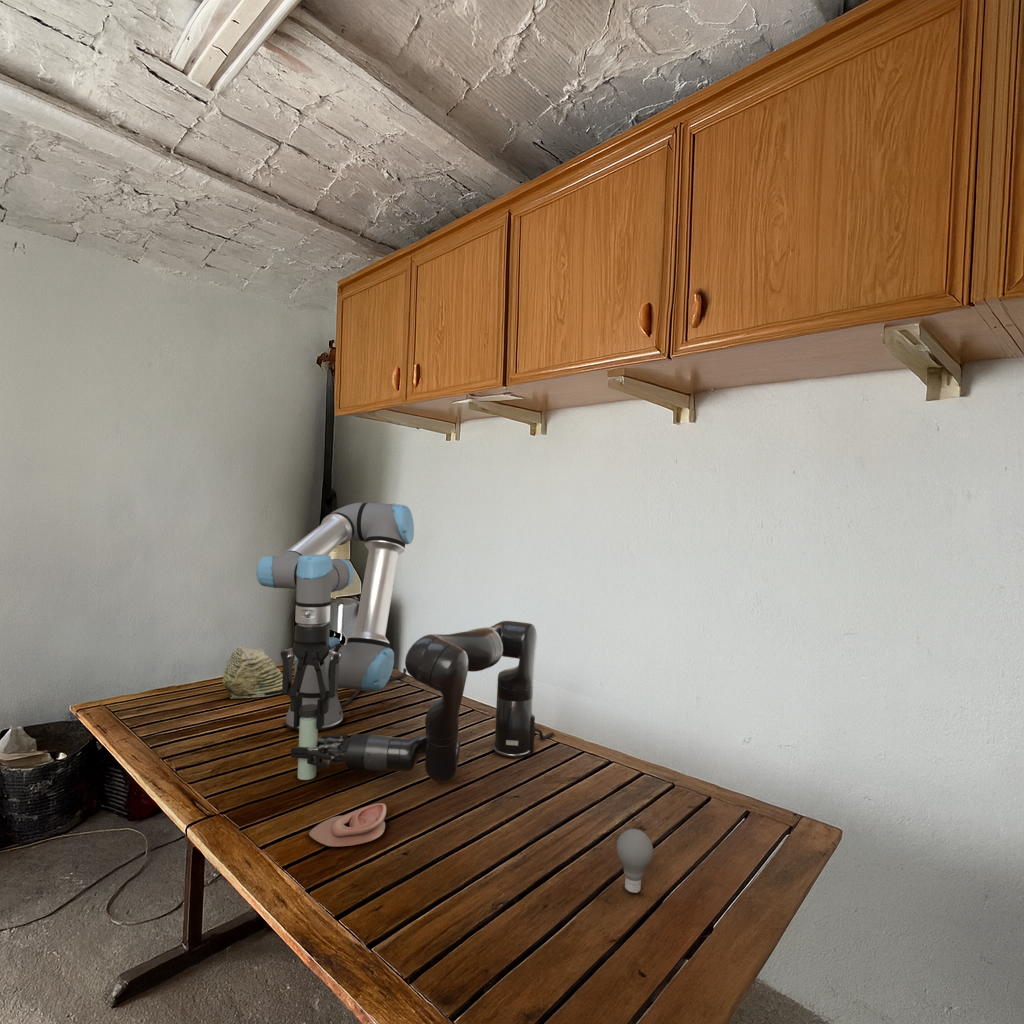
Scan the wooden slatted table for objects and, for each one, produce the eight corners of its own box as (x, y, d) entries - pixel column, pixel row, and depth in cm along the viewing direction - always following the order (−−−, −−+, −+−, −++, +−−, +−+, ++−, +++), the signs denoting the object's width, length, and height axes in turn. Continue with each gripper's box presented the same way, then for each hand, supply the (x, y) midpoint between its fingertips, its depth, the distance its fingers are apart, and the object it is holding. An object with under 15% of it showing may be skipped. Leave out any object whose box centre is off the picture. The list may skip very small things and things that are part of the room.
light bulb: (610, 879, 108) (613, 822, 108) (644, 879, 109) (647, 822, 109) (619, 902, 102) (622, 840, 102) (655, 901, 103) (658, 840, 103)
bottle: (305, 781, 140) (307, 716, 140) (293, 776, 143) (296, 712, 142) (319, 775, 144) (322, 711, 143) (308, 770, 146) (310, 707, 146)
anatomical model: (301, 820, 116) (331, 792, 127) (300, 842, 116) (330, 812, 127) (368, 831, 113) (393, 801, 124) (368, 853, 113) (392, 821, 124)
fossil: (218, 695, 195) (220, 647, 195) (278, 685, 208) (279, 640, 207) (228, 703, 189) (230, 653, 188) (289, 692, 201) (290, 645, 201)
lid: (313, 709, 146) (314, 702, 146) (324, 714, 143) (324, 707, 143) (294, 713, 143) (294, 706, 143) (304, 719, 140) (304, 712, 140)
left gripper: (267, 624, 139) (263, 729, 140) (345, 629, 138) (341, 735, 139) (281, 618, 147) (277, 718, 147) (356, 622, 146) (352, 723, 146)
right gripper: (379, 724, 150) (307, 720, 150) (362, 748, 135) (283, 743, 136) (377, 756, 150) (306, 751, 150) (361, 782, 135) (282, 778, 136)
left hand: (308, 726), depth 143 cm, fingers closed on lid, 4 cm apart
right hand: (295, 747), depth 143 cm, fingers closed on bottle, 4 cm apart
